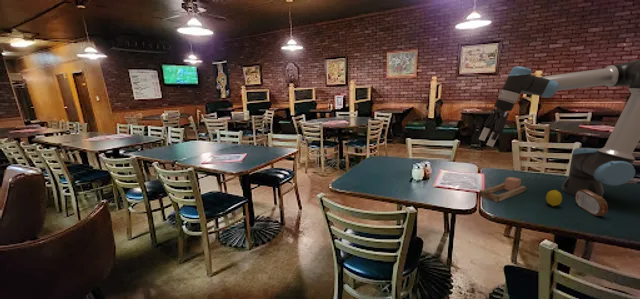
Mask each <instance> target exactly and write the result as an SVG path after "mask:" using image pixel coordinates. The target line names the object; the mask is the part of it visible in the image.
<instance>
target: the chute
mask: <svg viewBox="0 0 640 299" xmlns="http://www.w3.org/2000/svg"><path fill="white" fill-rule="evenodd" d="M504 187H505V182H502V183H500V184H497V185H495V186H491V187H489V188H488V187H487V188H485V189H480V190H479V192H478V196H479V197H481V198H484V199H487V200H490V201H493V202H495V203H498V202H501V201H505V200H506V199H509V198H511V197H515V196H516V195H519V194H522V193H524V192H526V190H527V187H526V186H524V185H520V187H518V188H516V189H513V190H510V191H509V190H507V191H505V192H503V193H500V194H495V193H497V192H500V191H502V190H505V189H504Z"/></svg>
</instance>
